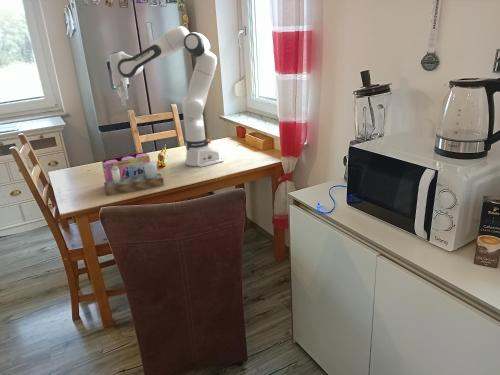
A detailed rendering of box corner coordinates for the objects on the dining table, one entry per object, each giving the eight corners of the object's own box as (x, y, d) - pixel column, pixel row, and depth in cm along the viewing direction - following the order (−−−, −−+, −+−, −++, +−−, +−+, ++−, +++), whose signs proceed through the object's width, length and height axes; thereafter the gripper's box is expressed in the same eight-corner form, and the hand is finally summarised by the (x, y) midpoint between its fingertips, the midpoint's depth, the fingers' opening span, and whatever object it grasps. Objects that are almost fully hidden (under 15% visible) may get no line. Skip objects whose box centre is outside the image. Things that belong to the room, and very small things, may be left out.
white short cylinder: (156, 173, 207) (155, 161, 205) (159, 177, 202) (157, 164, 199) (144, 175, 205) (142, 162, 202) (146, 179, 199) (144, 166, 197)
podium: (160, 180, 210) (159, 172, 209) (164, 185, 203) (163, 177, 202) (105, 189, 200) (103, 182, 198) (106, 195, 193) (105, 187, 192)
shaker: (120, 180, 199) (117, 164, 196) (121, 183, 196) (118, 166, 193) (113, 181, 198) (110, 165, 195) (114, 184, 195) (111, 167, 192)
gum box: (149, 174, 219) (146, 151, 213) (155, 179, 213) (151, 154, 207) (105, 184, 207) (101, 160, 202) (109, 189, 201) (105, 164, 195)
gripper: (128, 82, 220) (132, 107, 225) (124, 78, 237) (127, 102, 242) (117, 83, 217) (120, 108, 223) (113, 79, 235) (116, 103, 240)
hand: (124, 105), depth 233 cm, fingers closed
